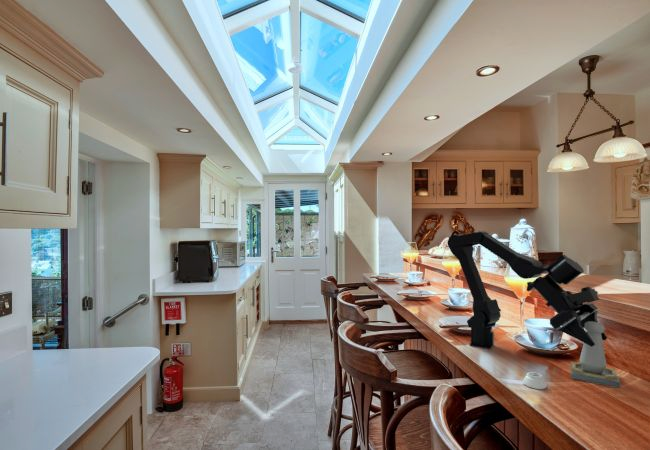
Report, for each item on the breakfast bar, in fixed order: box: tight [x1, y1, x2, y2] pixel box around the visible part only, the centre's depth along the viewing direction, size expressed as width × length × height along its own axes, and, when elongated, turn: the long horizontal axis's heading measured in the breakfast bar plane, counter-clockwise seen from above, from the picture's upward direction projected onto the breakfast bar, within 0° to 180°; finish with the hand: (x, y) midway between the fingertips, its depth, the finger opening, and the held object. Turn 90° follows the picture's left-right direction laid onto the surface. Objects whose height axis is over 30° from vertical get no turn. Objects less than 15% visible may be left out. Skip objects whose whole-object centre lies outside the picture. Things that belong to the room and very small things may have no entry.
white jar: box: [522, 371, 547, 390], centre depth 90 cm, size 5×3×5 cm
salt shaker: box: [579, 321, 607, 374], centre depth 96 cm, size 6×6×13 cm
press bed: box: [570, 361, 621, 389], centre depth 96 cm, size 10×10×2 cm
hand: (599, 342), depth 95 cm, fingers open, 9 cm apart
